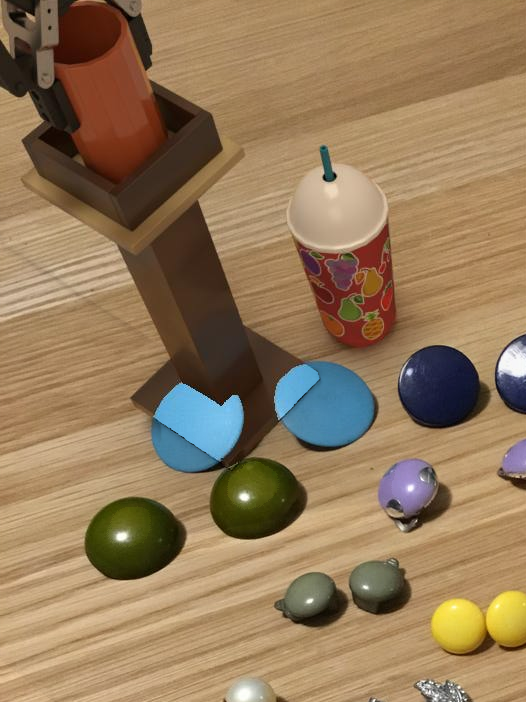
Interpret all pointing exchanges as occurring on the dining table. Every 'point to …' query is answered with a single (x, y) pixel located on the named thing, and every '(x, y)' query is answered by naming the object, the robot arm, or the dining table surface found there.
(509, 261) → the dining table surface
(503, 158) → the dining table surface
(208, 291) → the holder
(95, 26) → the cup
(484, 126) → the dining table surface
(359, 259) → the smoothie
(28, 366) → the dining table surface
